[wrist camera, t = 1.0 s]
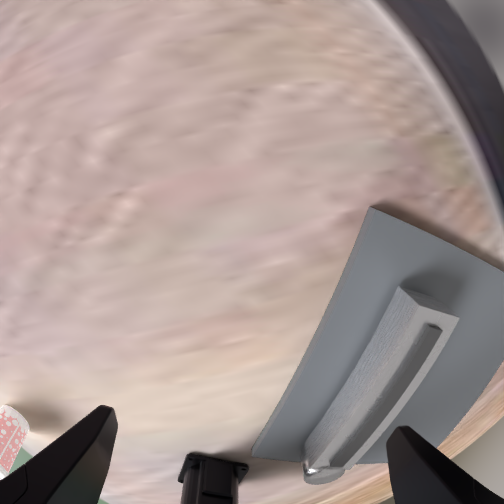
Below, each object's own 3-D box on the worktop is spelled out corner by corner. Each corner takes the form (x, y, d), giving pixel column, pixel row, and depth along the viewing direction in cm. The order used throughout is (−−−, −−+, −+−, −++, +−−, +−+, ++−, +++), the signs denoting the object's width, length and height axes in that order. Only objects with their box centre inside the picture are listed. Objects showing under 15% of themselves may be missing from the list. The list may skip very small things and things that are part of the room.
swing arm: (328, 461, 24) (335, 487, 21) (291, 459, 24) (295, 487, 20) (437, 299, 19) (463, 320, 16) (398, 285, 19) (422, 308, 15)
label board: (423, 454, 28) (426, 460, 27) (251, 448, 25) (251, 458, 24) (532, 289, 21) (539, 293, 20) (369, 206, 19) (376, 209, 18)
